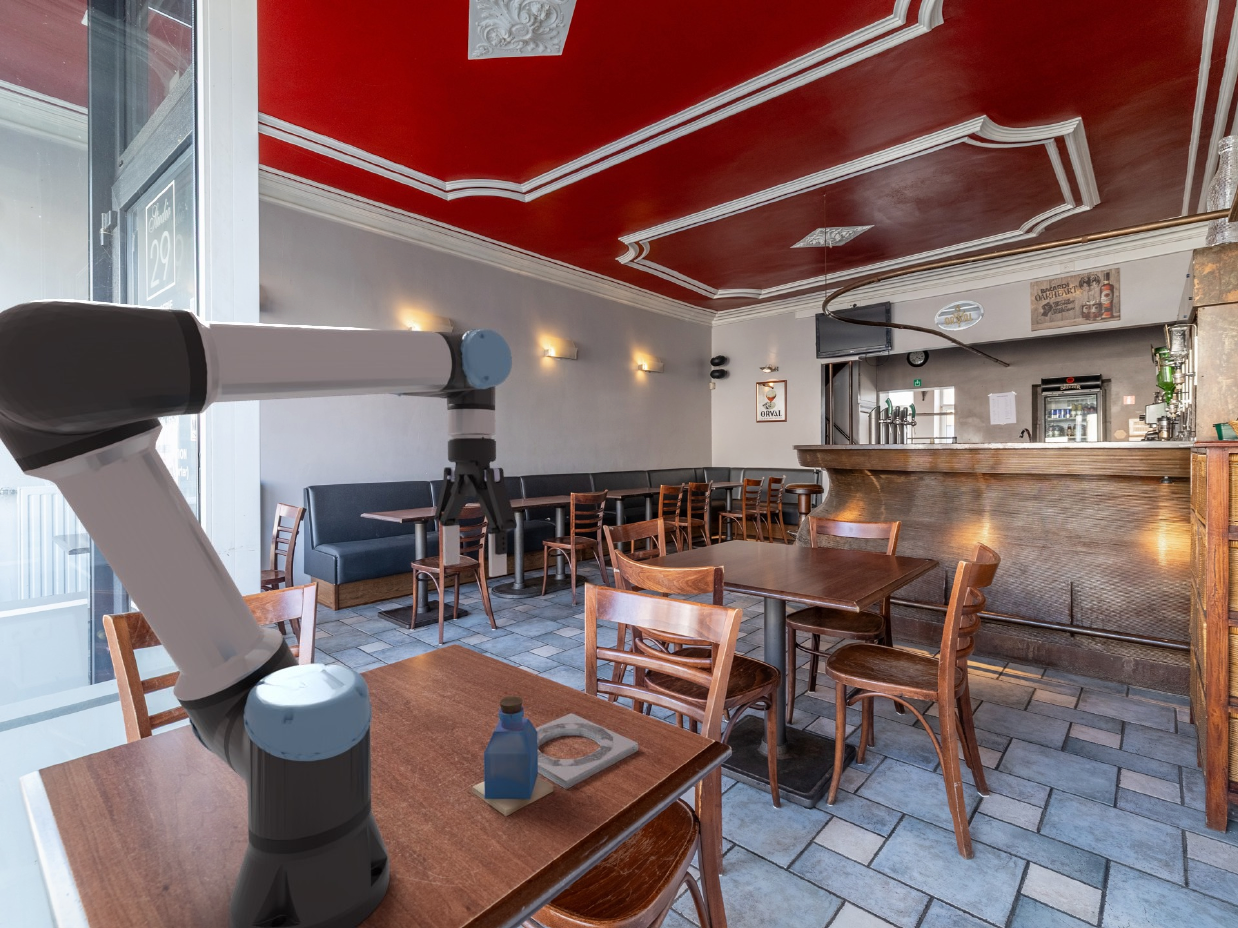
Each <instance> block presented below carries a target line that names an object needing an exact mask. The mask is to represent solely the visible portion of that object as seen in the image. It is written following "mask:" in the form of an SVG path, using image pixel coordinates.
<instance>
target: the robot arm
mask: <svg viewBox="0 0 1238 928" xmlns="http://www.w3.org/2000/svg"><path fill="white" fill-rule="evenodd" d="M512 366H513V357H512V351H511V348H510V345H509V343H508V341H506V339H505V338H504V337H503V336H502V335H501V334H500V333H499V332H497V331H496V330H493V329H490V328H481V329H478V328H477V329H470V330H469V331H463V332H461V331H460V332H454V331H453V332H452V331H451V332H450V331H430V330H410V329H409V330H406V329H404V330H403V329H386V328H385V329H383V328H381V329H380V328H365V327H364V328H363V327H362V328H361V327H360V328H359V327H336V326H335V327H334V326H318V325H317V326H316V325H315V326H314V325H313V326H312V325H295V324H294V325H291V324H289V325H288V324H267V323H249V322H248V323H247V322H245V323H244V322H222V321H221V322H219V321H204V320H203V319H201V318H200V317H199V316H198V315H197V314H195V313H194V312H193V311H192V310H191V309H185V308H168V307H167V308H166V307H154V306H142V305H134V304H131V305H130V304H120V303H113V302H112V303H111V302H103V301H90V300H88V301H87V300H77V299H41V300H39V299H37V300H32V301H27V302H23V303H20V304H16V305H14V306H12V307H9V308H7V309H4V310H3V311H1V312H0V441H1V442H2V443H3V445H4V446H5V447H6V449H7V451H8V452H9V454H10V455H11V457H12V458H13V459H14V461H15V462H16V464H17V466H19V467H18V468H20V470H21V471H22V473H23V475H26V476H30V477H35V478H38V479H42V480H44V481H45V480H46V481H50V482H52V483H53V484H55V486H56V487H57V489H58V490H59V492H60V493H61V495H62V497H63V498H64V499H65V501H66V502H67V503H68V505H69V507H70V508H71V509H72V511H73V513H74V514H75V516H76V517H77V519H78V520H79V522H80V524H81V525H82V526H83V528H84V529H85V531H86V532H87V534H88V535H89V537H90V539H91V540H92V541H93V543H94V545H95V546H96V547H97V548H98V550H99V552H100V553H101V554H102V555H101V556H103V558H104V559H105V561H106V562H107V564H108V566H109V567H110V568H111V570H112V571H113V573H114V575H115V576H116V578H117V579H118V580H119V582H120V583H121V585H122V587H123V588H124V589H125V591H126V593H127V594H128V595H129V597H130V598H131V600H132V602H133V603H134V604H135V607H136V608H137V609H138V611H139V612H140V613H141V615H142V616H143V618H144V619H145V621H146V623H147V625H148V626H149V627H150V629H151V630H152V632H153V633H154V635H155V636H156V638H157V639H158V641H159V642H160V644H161V645H162V647H163V648H164V650H165V651H166V653H167V654H168V655H169V657H170V658H171V659H170V660H172V662H173V663H174V664H175V666H176V667H177V669H178V671H179V675H178V677H177V680H176V681H175V684H174V687H173V690H172V693H173V695H174V697H175V698H176V700H177V701H178V702H179V704H180V705H181V707H182V708H183V710H184V711H185V713H186V714H187V716H188V721H189V724H190V726H191V729H192V733H193V734H194V736H195V737H196V740H197V741H198V742H199V743H200V744H201V745H202V746H203V747H204V748H205V749H207V750H208V751H209V752H211V753H213V755H214V754H215V755H216V756H217V757H218V758H219V759H220V760H221V761H223V762H224V764H226V765H227V766H228V767H229V768H231V769H232V770H233V771H234V773H236V774H237V775H238V776H239V777H240V778H241V779H242V780H244V782H245V784H246V791H247V826H248V827H247V829H248V842H247V847H246V850H245V853H244V856H243V858H242V863H241V865H240V868H239V871H238V875H237V877H236V880H235V883H234V887H233V890H232V893H231V897H230V898H229V899H230V900H229V905H228V916H229V917H228V923H229V924H228V925H229V926H228V927H229V928H356V927H357V926H358V925H360V924H361V923H362V922H363V921H364V920H365V919H367V918H368V917H369V916H370V915H371V914H372V913H373V912H374V911H375V910H376V909H377V907H379V905H380V904H381V902H382V900H383V899H384V897H385V895H386V894H387V891H388V888H389V884H390V876H391V875H390V873H391V872H390V856H389V851H388V849H387V846H386V844H385V840H384V839H383V838H384V837H382V833H381V831H380V828H379V826H378V823H377V821H376V819H375V815H374V813H373V810H372V747H371V746H372V742H371V741H372V739H371V738H372V737H371V736H372V735H371V734H372V733H371V731H372V730H371V723H372V717H373V711H372V703H371V701H370V700H371V699H370V690H369V687H368V683H367V681H366V680H365V678H364V677H363V676H362V675H361V674H360V673H359V672H357V671H356V670H354V669H353V668H350V667H348V666H345V665H341V664H337V663H336V664H334V663H333V664H330V665H326V663H325V662H324V663H323V662H322V663H320V662H319V663H318V662H317V663H304V664H300V663H299V662H298V659H297V658H296V656H295V654H294V653H293V651H292V649H291V647H290V646H289V645H288V643H287V641H286V639H285V637H284V636H283V634H282V632H281V631H280V630H278V629H275V628H269V627H263V626H262V627H261V625H260V624H259V622H258V620H257V619H256V617H255V616H254V614H253V611H252V610H251V609H250V607H249V605H248V604H247V602H246V600H245V599H244V596H243V595H242V593H241V592H240V590H239V588H238V586H237V585H236V583H235V582H234V579H233V578H232V576H231V574H230V573H229V570H227V568H226V566H225V565H224V563H223V561H222V560H221V558H220V556H219V554H218V552H217V551H216V549H215V546H213V544H212V543H211V541H210V539H209V537H208V535H207V534H206V532H205V530H204V528H203V527H202V525H201V524H200V522H199V520H198V519H197V518H198V517H196V515H195V514H194V512H193V510H192V508H191V506H190V505H189V503H188V502H187V500H186V497H184V494H183V493H182V491H181V490H180V487H179V486H178V484H177V482H176V481H175V479H174V476H172V474H171V472H170V471H169V469H168V468H167V465H166V464H165V462H164V460H163V458H162V457H161V455H160V453H159V452H158V449H156V447H157V446H156V445H157V441H158V438H159V437H160V434H161V432H162V430H163V425H162V423H161V422H160V420H159V418H163V417H173V416H174V417H175V416H184V415H185V416H187V415H199V414H203V413H204V412H205V411H206V410H207V409H208V408H209V407H210V406H211V405H212V404H214V403H227V402H228V403H231V402H247V401H249V402H250V401H267V400H287V399H288V400H289V399H304V398H305V399H307V398H309V399H310V398H325V397H326V398H327V397H344V396H345V397H346V396H349V397H350V396H365V395H368V396H369V395H387V394H388V395H396V396H398V397H401V396H405V397H406V396H407V397H410V396H411V397H425V398H440V399H446V407H447V408H446V412H447V413H446V414H447V415H446V416H447V417H446V418H447V419H446V420H447V421H446V422H447V425H446V426H447V428H446V429H447V435H448V436H450V437H451V439H450V438H449V439H448V441H447V460H448V461H449V462H450V463H455V465H454V466H452V467H451V466H450V467H449V466H448V467H444V468H443V477H442V478H443V481H442V485H441V488H440V493H439V496H438V501H437V505H436V509H435V513H434V521H435V522H439V524H440V526H442V561H443V562H442V565H443V566H445V567H446V566H452V565H459V564H461V547H460V546H461V542H460V540H461V539H460V537H461V536H460V525H459V524H460V523H461V522H460V520H459V518H460V516H461V513H462V511H463V510H464V507H465V505H466V503H467V501H468V499H469V497H473V498H474V499H475V500H477V501H478V504H479V506H480V508H481V510H482V512H483V515H484V517H485V519H486V521H487V523H488V525H489V528H490V530H488V577H491V578H494V577H499V576H503V575H508V573H507V572H508V570H507V569H508V565H507V562H508V561H507V559H508V558H507V556H508V555H507V553H508V533H509V532H510V531H512V530H514V529H515V530H516V529H517V526H518V524H517V520H516V517H515V513H514V510H513V507H512V503H511V500H510V496H509V494H508V491H507V487H506V483H505V473H504V469H503V467H491V464H490V463H493V462H495V461H496V459H497V441H496V440H495V438H492V437H493V436H495V435H496V387H497V386H500V385H501V384H503V383H504V382H506V380H507V378H508V377H509V376H510V373H511V371H512Z"/></svg>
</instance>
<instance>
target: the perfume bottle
mask: <svg viewBox="0 0 1238 928" xmlns="http://www.w3.org/2000/svg"><path fill="white" fill-rule="evenodd" d="M523 701H524V700H523V698H522V697H519V696H514V695H513V696H512V695H511V696H506V697H503V698H502V699H500V700H499V704H500V708H499V710H498V720H499V721H498V723H497V724H496V727H495V729H494V730H493V733H492V735H491V737H490V739H489V742H488V743H487V746H486V748H485V750H484V753H483V762H484V763H483V766H484V767H483V768H484V769H483V770H484V774H483V775H484V776H483V777H484V779H483V780H484V786H485V799H531V795H532V792H533V789H534V785H535V782H536V779H537V776H539V773H538V750H539V748H538V744H537V731H536V729H535V728H536V727H535V726H534V725H533V723H532V722H531V720H530V719H529V718H527V717H526V718H525V717H524V715H525V709H524V706H523Z"/></svg>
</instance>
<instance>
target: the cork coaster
mask: <svg viewBox="0 0 1238 928" xmlns="http://www.w3.org/2000/svg"><path fill="white" fill-rule="evenodd" d="M471 789H472V790H471V791H472V794H474V795H475V796H477V797H478V798H480V799H481V800H483V802H485V803H486V804H488V805H489V806H490V807H492V808H494V809H495V810H497V811H498V812H499V813H501V814H502V815H503V816H505V817H508V816H509V815H511V814H513V813H514V812H517V811H518V810H520V809H523V808H524V807H526V806H528V805H531V804H532V803H534V802H535V801H538V800H539V799H542V798H543V797H545V796H547V795H549V794H550V793H553V792H554V785H553V784H552V783H550V782H549V781H547V780H545V779H543V778H542V777H540V776H539V775H537V779H536V782H535V785H534V789H533V792H532V795H531V799H485V786H484V781H482V782H479V783H477V784H475V785H473V786H472V788H471Z"/></svg>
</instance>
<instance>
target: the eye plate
mask: <svg viewBox="0 0 1238 928" xmlns="http://www.w3.org/2000/svg"><path fill="white" fill-rule="evenodd" d="M534 728H535V729H536V731H537V744H538V775H541V776H542V777H545V778H547V779H548V780H550V781H551V782H553V783H555V784H556V785H558V786H560V787H561V788H563V789H565V790H567V789H569V788H571V787H573V786H575V785H577V784H579V783H581V782H583V781H585V780H586V779H588V778H590V777H591V776H594V775H596V774H598V773H599V772H601V771H602V770H605V769H607V768H608V767H611V766H613V765H614V764H616V763H618V762H620V761H622V760H623V759H625V758H627V757H629V756H631V755H633V754H635V753H637V752H638V751H639V743H638V742H637V741H635V740H632V739H630V738H628V737H625V736H623V735H622V734H618V733H616V732H615V731H613V730H609V729H608V728H605V727H603V726H601V725H599V724H596V723H594V722H593V721H590V720H587V719H585V718H584V717H582V716H578V715H577V714H575V713H572V712H571V713H569V714H566V715H564V716H561V717H559V718H557V719H554V720H552V721H549V722H547V723H544V724H542V725H540V726H537V727H534ZM565 736H567V737H574V736H579V737H583V738H587V739H590V740H592V741H594V742H596V744H598V745H599V747H598V748H597V749H596V750H595V751H594V752H592V753H590V754H587V755H585V756H581V757H578V758H568V759H567V758H565V759H564V758H560V759H559V758H555V757H552V756H549V755H546V754H544V753H542V751H540V748H539V747H540V746H542V745H543V744H545V743H546V742H548V741H551V740H553V739H557V738H561V737H565Z"/></svg>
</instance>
